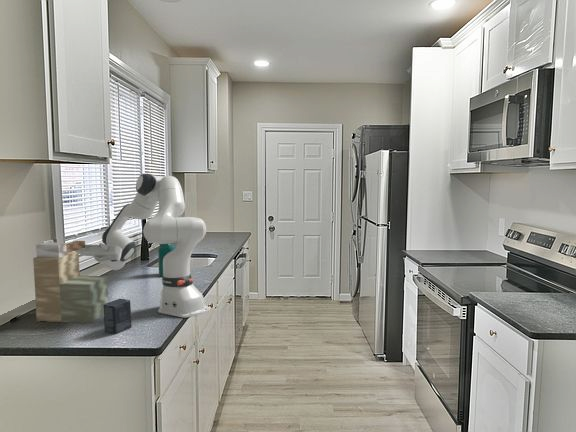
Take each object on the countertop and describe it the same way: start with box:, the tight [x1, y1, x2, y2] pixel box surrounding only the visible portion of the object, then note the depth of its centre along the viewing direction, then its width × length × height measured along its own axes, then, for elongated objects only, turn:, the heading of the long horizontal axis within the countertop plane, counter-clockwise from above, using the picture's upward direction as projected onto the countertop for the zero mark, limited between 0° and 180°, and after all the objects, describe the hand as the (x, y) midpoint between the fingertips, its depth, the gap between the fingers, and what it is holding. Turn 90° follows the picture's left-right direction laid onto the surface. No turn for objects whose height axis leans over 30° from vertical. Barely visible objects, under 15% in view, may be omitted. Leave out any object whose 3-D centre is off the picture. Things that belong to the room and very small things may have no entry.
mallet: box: [35, 240, 86, 258], centre depth 176 cm, size 23×9×5 cm, turn 176°
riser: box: [32, 251, 110, 324], centre depth 171 cm, size 14×22×25 cm, turn 86°
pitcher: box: [157, 243, 177, 278], centre depth 241 cm, size 10×8×22 cm
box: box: [103, 298, 132, 335], centre depth 156 cm, size 8×6×11 cm
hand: (90, 244), depth 195 cm, fingers open, 8 cm apart
